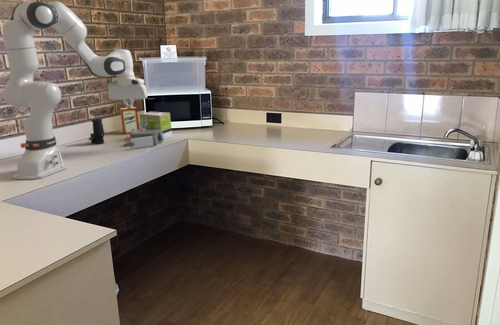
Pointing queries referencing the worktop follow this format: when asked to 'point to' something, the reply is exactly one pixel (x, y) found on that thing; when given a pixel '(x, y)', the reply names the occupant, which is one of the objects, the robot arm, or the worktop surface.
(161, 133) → the box
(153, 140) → the side door
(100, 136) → the scope
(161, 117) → the tea box
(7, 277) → the worktop surface
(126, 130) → the baking soda box
